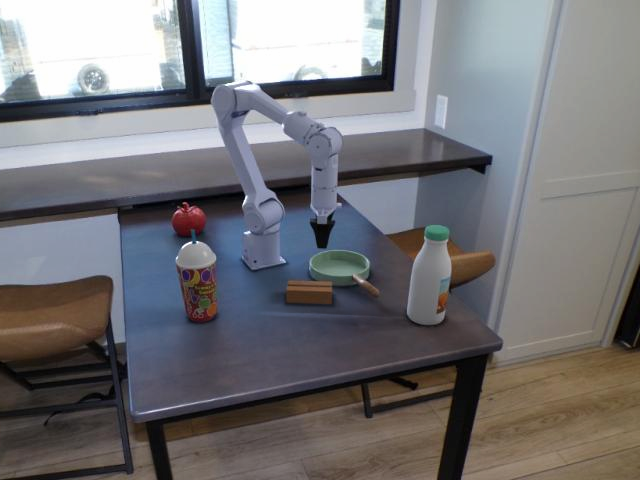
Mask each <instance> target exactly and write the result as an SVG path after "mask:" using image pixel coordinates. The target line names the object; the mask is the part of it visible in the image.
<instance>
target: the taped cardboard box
mask: <svg viewBox="0 0 640 480" xmlns="http://www.w3.org/2000/svg"><path fill="white" fill-rule="evenodd" d="M285 295H286V303H291V304H317V305H318V304H321V305H332V301H333V285H332V282H320V281H317V280H288V281H287V286H286V292H285Z"/></svg>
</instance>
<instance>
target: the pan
mask: <svg viewBox="0 0 640 480" xmlns="http://www.w3.org/2000/svg"><path fill="white" fill-rule="evenodd" d="M308 265H309V266H308V267H309V268H308V272H309V275H310V277H311V278H312V279H314V281H320V282H332V286H335V287H347V286H354V285H358V284H357V283H356V282H355V281H353V279H352V276H353V275H354V274H358V275H360V276H361V277H362V278H363V279H365V280H367V279H368V277H370V270H371V268H370V267H371V262H370V260H369V258H368V257H366V256H365V255H364V254H361V253H359V252H356V251H351V250H346V249H330V250H325V251H321V252H318V253H316V254H314V255H312V257H310V259H309V263H308Z"/></svg>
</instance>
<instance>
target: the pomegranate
mask: <svg viewBox="0 0 640 480" xmlns="http://www.w3.org/2000/svg"><path fill="white" fill-rule="evenodd" d="M182 205H183V206H184V207H181V206H177V210H176V212H174V214H173V216H172V219H171V225H172V228H173V231H174V232H175V233H176V234H177V235H178V236H182V237H192V234H191V230H192V229H194V232H195V235H198V234H200V233H202V232H203V231H204V230H205V227H206V225H207V218H206V214H205V213H204V211H203V210H202V209H201V208H198V207H199V206H198V205H193V206H191V207H190V206H189V205H190V204H188V203H187V202H182Z"/></svg>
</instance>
